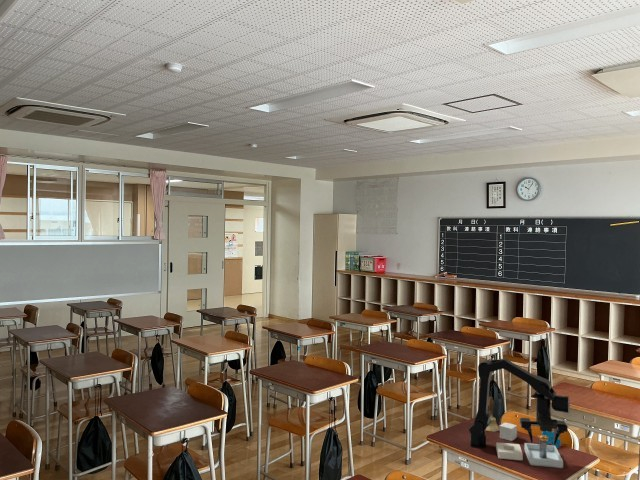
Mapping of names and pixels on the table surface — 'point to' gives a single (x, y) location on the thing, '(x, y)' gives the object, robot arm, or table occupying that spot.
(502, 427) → the white cube
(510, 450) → the white square hole block
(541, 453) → the lock pin
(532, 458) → the parts tray
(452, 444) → the table surface
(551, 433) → the gear
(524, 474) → the table surface
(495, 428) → the hand bell
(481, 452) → the table surface
